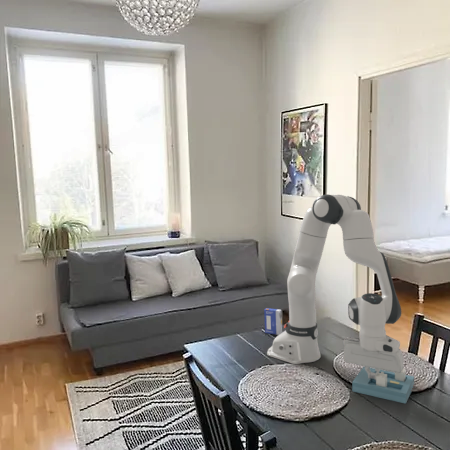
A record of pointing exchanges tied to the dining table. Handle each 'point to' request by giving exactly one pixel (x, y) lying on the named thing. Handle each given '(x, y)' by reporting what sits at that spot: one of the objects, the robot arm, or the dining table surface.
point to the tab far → (401, 375)
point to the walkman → (273, 321)
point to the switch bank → (393, 391)
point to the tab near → (381, 379)
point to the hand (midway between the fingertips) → (372, 378)
